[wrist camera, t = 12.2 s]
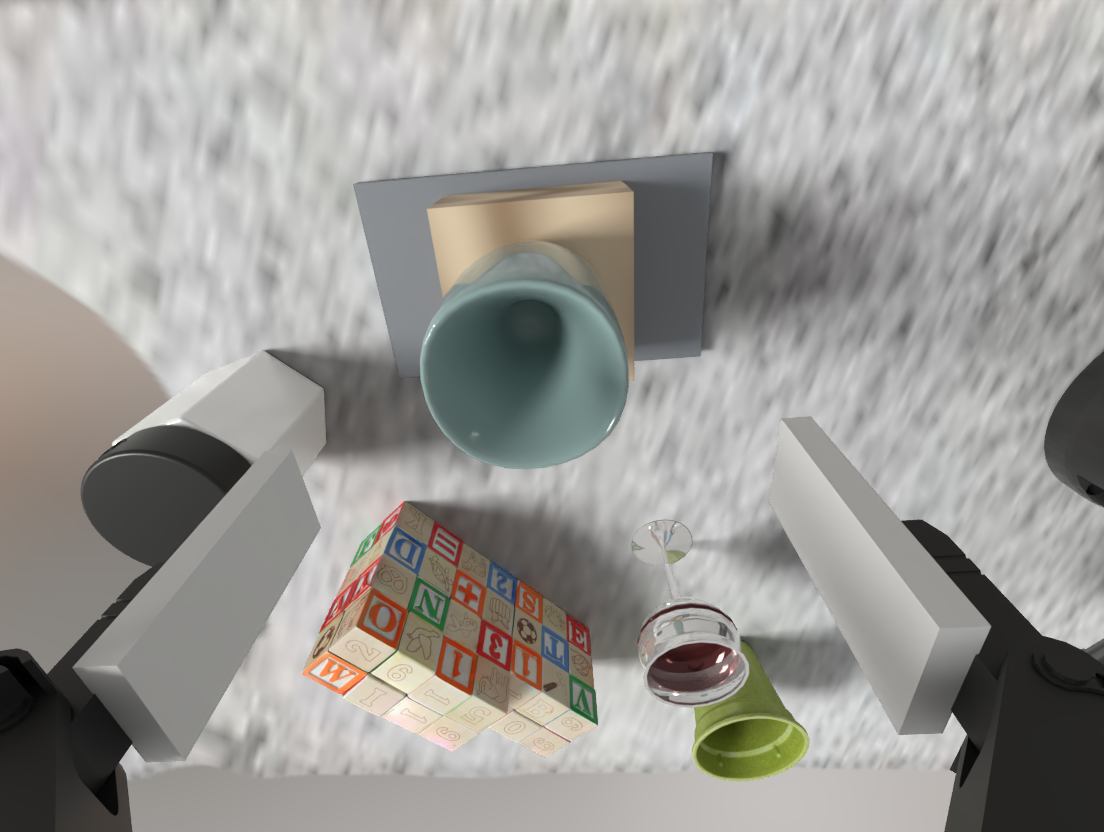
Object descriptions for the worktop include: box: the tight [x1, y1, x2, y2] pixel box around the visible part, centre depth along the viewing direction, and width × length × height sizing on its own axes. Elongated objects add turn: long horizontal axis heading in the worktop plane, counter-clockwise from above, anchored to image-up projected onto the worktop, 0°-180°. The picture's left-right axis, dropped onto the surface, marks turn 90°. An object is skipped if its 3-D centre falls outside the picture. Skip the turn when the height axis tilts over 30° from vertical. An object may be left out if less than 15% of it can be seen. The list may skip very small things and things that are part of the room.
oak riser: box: [427, 181, 634, 381], centre depth 30 cm, size 10×10×5 cm
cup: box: [420, 240, 629, 469], centre depth 24 cm, size 8×8×10 cm
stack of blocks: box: [302, 501, 598, 757], centre depth 42 cm, size 21×6×12 cm, turn 46°
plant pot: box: [692, 641, 809, 781], centre depth 48 cm, size 9×9×9 cm
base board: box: [353, 152, 713, 378], centre depth 33 cm, size 20×12×1 cm, turn 95°
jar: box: [81, 351, 326, 567], centre depth 33 cm, size 9×8×12 cm
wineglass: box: [632, 520, 749, 707], centre depth 39 cm, size 7×7×12 cm
